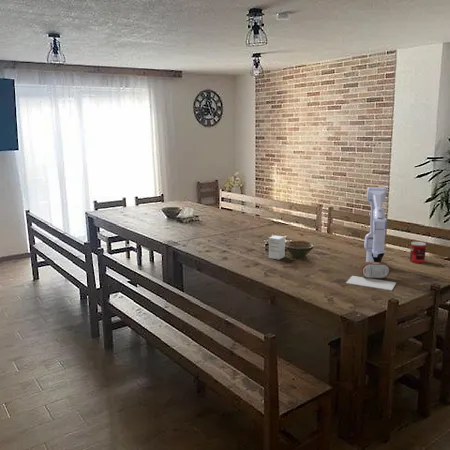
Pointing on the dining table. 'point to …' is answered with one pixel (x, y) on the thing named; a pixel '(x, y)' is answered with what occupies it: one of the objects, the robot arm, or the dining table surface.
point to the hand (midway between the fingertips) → (377, 267)
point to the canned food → (417, 252)
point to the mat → (371, 283)
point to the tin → (375, 270)
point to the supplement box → (276, 247)
